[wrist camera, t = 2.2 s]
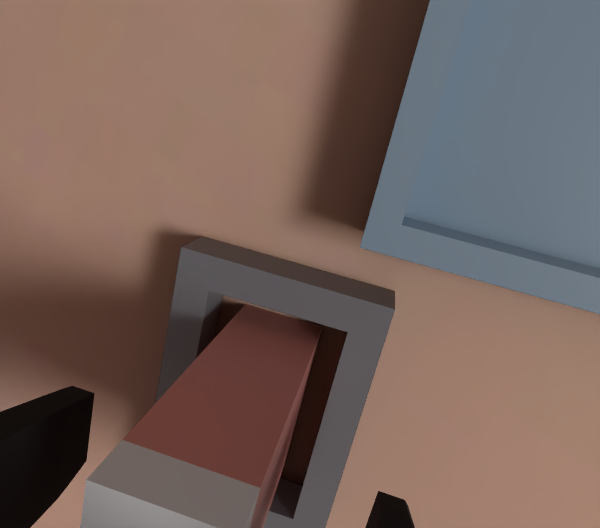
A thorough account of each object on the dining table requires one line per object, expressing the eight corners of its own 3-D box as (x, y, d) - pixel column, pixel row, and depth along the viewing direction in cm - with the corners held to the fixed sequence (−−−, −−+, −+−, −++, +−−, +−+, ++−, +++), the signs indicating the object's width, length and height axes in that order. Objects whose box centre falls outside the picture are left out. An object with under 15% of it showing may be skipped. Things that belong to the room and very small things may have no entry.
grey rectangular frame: (162, 461, 17) (140, 491, 15) (202, 236, 14) (180, 247, 13) (323, 518, 16) (316, 554, 15) (394, 291, 14) (394, 309, 12)
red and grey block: (216, 436, 16) (59, 697, 9) (245, 304, 15) (86, 479, 7) (286, 459, 16) (186, 752, 8) (322, 327, 14) (241, 536, 7)
